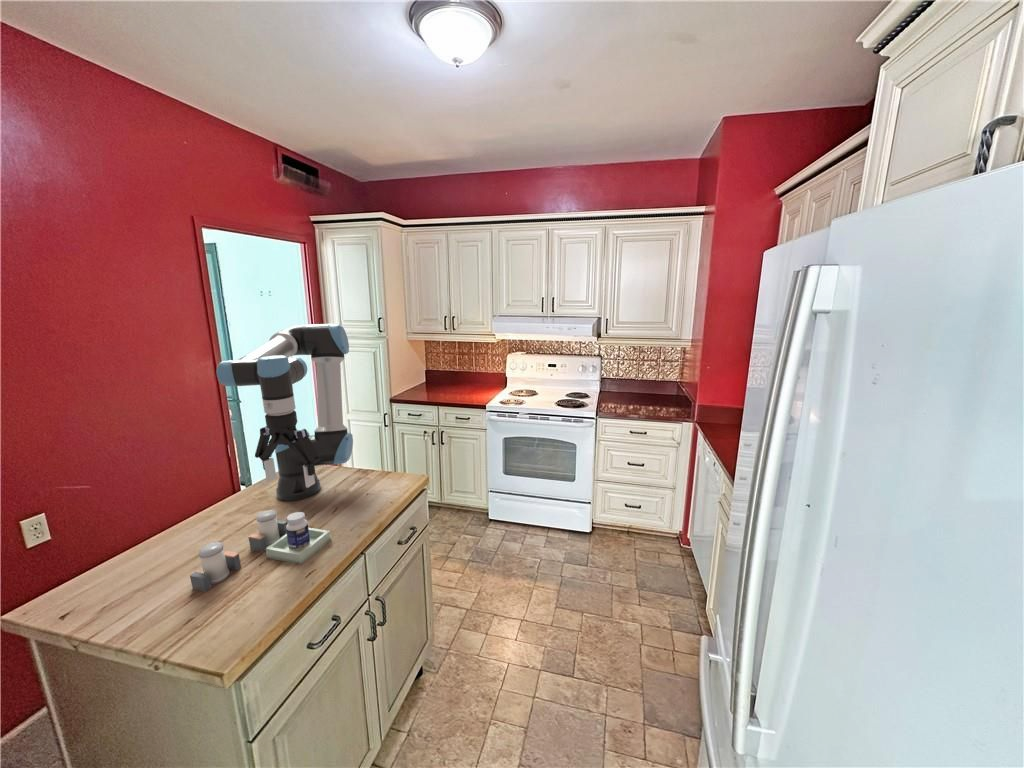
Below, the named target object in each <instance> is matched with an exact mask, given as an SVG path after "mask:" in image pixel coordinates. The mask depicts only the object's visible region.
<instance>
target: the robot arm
mask: <svg viewBox="0 0 1024 768" xmlns="http://www.w3.org/2000/svg"><path fill="white" fill-rule="evenodd" d="M349 352H350V345H349V338H348V336H347V333H346V330H345V328H344V327H343V326H342V325H341V324H338V323H336V324H335V323H320V324H319V323H315V324H297V325H293V326H290V327H287V328H284V329H282V330H279V331H277V332H275V333H274V334H273V335H271V336H270V338H269V340H268V341H267V342H265V343H263V344H261V346H258V347H257V348H255V349H254V350H251V351H250V352H248V353H247V354H245V355H244V356H242V357H240V358H239V359H229V360H222V361H220V362H219V363H218V364H217V367H216V377H217V381H218V382H219V383H220V384H221V385H222V386H224V387H246V386H250V387H251V386H260V391H261V399H262V407H263V412H264V414H265V415H264V419H265V424H266V426H263V427H260V429H259V439H258V441H257V442H258V443H257V445H256V449H255V452H254V457H255V458H259V459H260V461H261V462H262V468H263V470H264V473H265V474H264V475H265V478H266V483H270V482H273V481H274V480H276V479H277V473H276V466H275V461H274V457H272V456H273V453H275V458H276V463H277V469H278V481H277V487H276V489H275V492H276V498H277V499H278V500H280V501H286V502H289V501H299V500H302V499H306V498H309V497H311V496H313V495H315V494H316V493H318V492H319V491H320V490H321V489H322V488H321V481H320V479H319V478H318V475H317V474H316V467H318V466H330V465H331V466H332V465H334V466H335V465H341V464H342V465H343V464H346V463H348V461H349V460H350V459H351V455H352V453H353V446H354V438H353V437H354V436H353V434H352V433H351V432H349V431H348V427H347V426H346V425H344V422H343V421H344V418H343V417H344V415H343V413H344V412H343V398H342V397H343V394H342V389H343V388H342V372H341V371H342V368H341V363H342V362H343V361H344V360H345V355H347V354H349ZM298 356H311V360H312V362H314V363H315V366H316V367H315V370H316V371H315V372H316V390H317V391H316V393H317V415H318V416H317V417H318V426H317V427H316V428H315V429H314V435H313V434H312V435H310V432H309V431H308V430H307V429H306V428H302V429H300V430H298V429H297V427H296V426H297V424H298V417H297V411H296V402H295V395H294V387H293V385H294V384H295V383H298V382H300V381H302V380H303V379H304V378H305V377H306V375H307V373H308V365H307V363H306V362H305V360H304V359H302V358H301V357H298Z"/></svg>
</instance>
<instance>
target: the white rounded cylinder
mask: <svg viewBox="0 0 1024 768" xmlns="http://www.w3.org/2000/svg"><path fill="white" fill-rule="evenodd" d="M224 552H225V550H224V544H223V542H221V541H216V542H211V543H208V544H205V545H204V546H202V547H201V548H199V550H198V552H197V553H198V556H199V558H200V562H201V566H202V570H203V573H204V574H209V578H210V583H211V585H216V584H218V583H221V582H222V581H225V580H226V579H227V578H228V577H229V575H230V574H231V573H230V569H228V567H227V562H226V558H225V554H224Z"/></svg>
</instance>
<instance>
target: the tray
mask: <svg viewBox="0 0 1024 768" xmlns="http://www.w3.org/2000/svg"><path fill="white" fill-rule="evenodd" d="M308 529H309V537H310V544H309V545H308V546H307V547H306V548H305V549H303V550H300V551H291V550H290V549H289V547H288V539H287V534H285V535H282V536H280V539H278V540H277V541H276V542H274V543H273V544H271V545H269V546H266V547H267V548H266V549H265V552H266V553H265V554H266V558H267V559H270V560H277V561H281V562H282V561H283V562H287V563H292V564H298V565H303V564H304V563H306V561H308V560H309V559H310V558H311V557H313V555H315V554H317V552H319V551H320V550H321V549H322V548H323V547H324V546H325V545H327V544H328V543H329V542H331V540H332V536H331V531H330V530H326V529H319V528H313V527H308Z"/></svg>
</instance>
